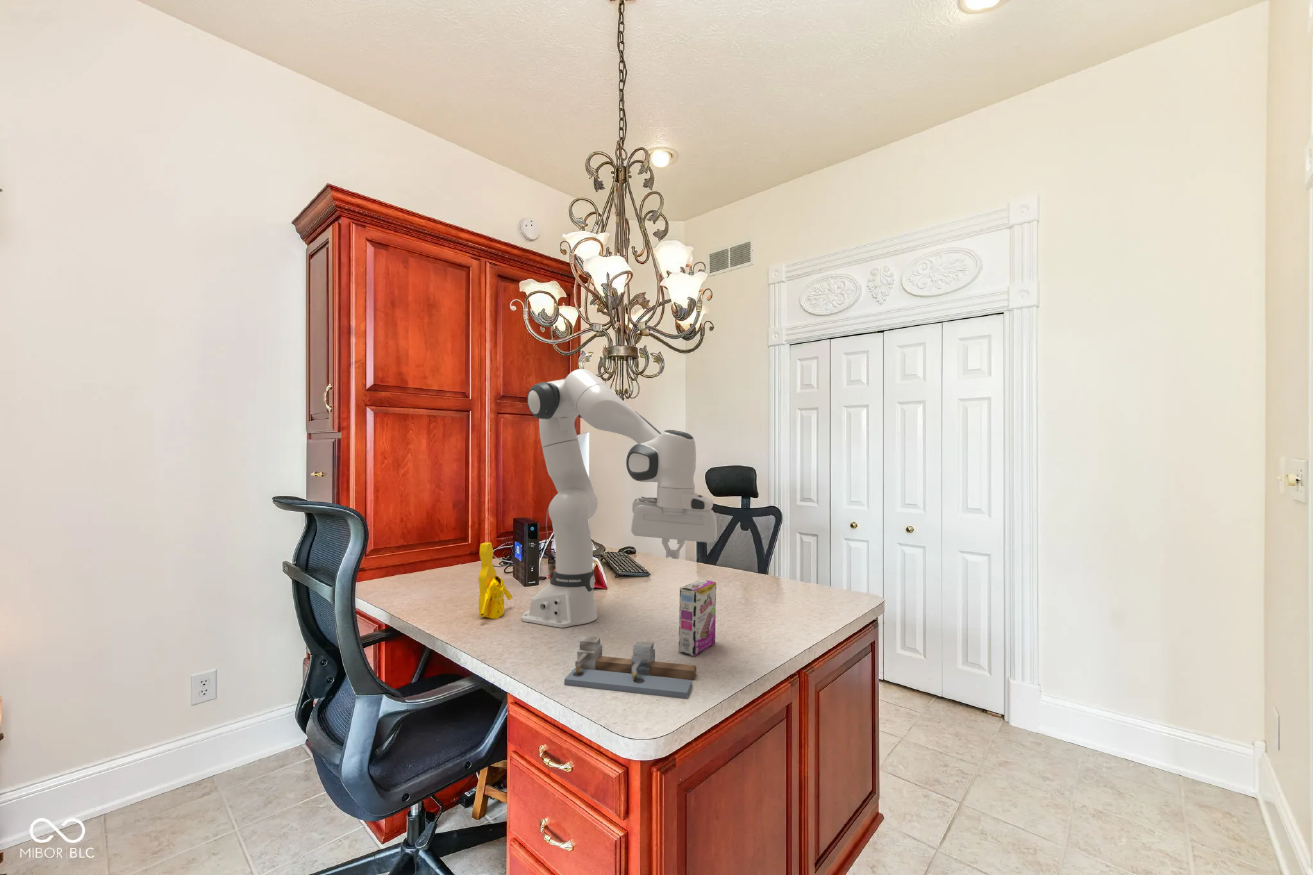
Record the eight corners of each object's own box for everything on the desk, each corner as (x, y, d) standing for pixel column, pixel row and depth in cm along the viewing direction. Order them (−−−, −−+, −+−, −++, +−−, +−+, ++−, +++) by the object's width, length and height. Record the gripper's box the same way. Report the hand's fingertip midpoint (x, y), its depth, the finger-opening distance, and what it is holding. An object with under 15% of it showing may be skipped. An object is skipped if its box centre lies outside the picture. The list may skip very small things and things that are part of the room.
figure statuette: (488, 626, 153) (488, 549, 153) (463, 624, 155) (464, 548, 155) (517, 607, 170) (518, 538, 171) (495, 606, 172) (495, 537, 172)
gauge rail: (568, 679, 118) (568, 651, 118) (586, 660, 129) (586, 634, 129) (689, 693, 112) (689, 662, 112) (697, 671, 123) (697, 644, 123)
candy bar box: (695, 657, 131) (695, 590, 131) (678, 653, 134) (678, 587, 134) (716, 643, 140) (717, 581, 140) (700, 639, 143) (700, 578, 143)
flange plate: (564, 684, 116) (564, 678, 116) (574, 673, 122) (574, 667, 122) (686, 698, 110) (687, 692, 110) (691, 685, 116) (691, 679, 116)
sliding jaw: (625, 684, 115) (625, 656, 115) (638, 664, 126) (638, 638, 126) (642, 686, 114) (643, 658, 115) (654, 665, 125) (655, 640, 125)
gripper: (629, 497, 125) (626, 556, 125) (716, 503, 120) (713, 565, 120) (636, 494, 131) (633, 551, 131) (719, 501, 127) (716, 559, 127)
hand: (672, 557), depth 126 cm, fingers closed
